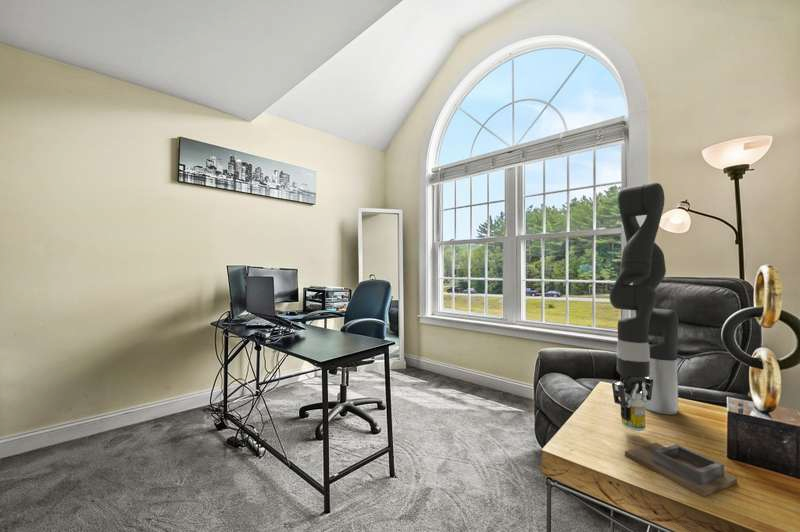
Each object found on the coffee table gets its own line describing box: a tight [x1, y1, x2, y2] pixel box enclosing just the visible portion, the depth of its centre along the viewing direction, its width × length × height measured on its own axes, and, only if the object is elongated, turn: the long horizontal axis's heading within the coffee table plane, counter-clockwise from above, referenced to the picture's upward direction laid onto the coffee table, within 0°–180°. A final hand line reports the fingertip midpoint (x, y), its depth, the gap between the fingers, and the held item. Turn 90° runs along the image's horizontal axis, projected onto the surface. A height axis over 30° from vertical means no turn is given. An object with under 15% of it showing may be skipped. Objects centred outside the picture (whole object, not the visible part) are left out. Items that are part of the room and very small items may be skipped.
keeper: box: [624, 442, 738, 498], centre depth 76 cm, size 12×16×4 cm
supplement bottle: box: [621, 392, 646, 432], centre depth 92 cm, size 5×5×10 cm
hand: (633, 417), depth 92 cm, fingers closed on supplement bottle, 5 cm apart
